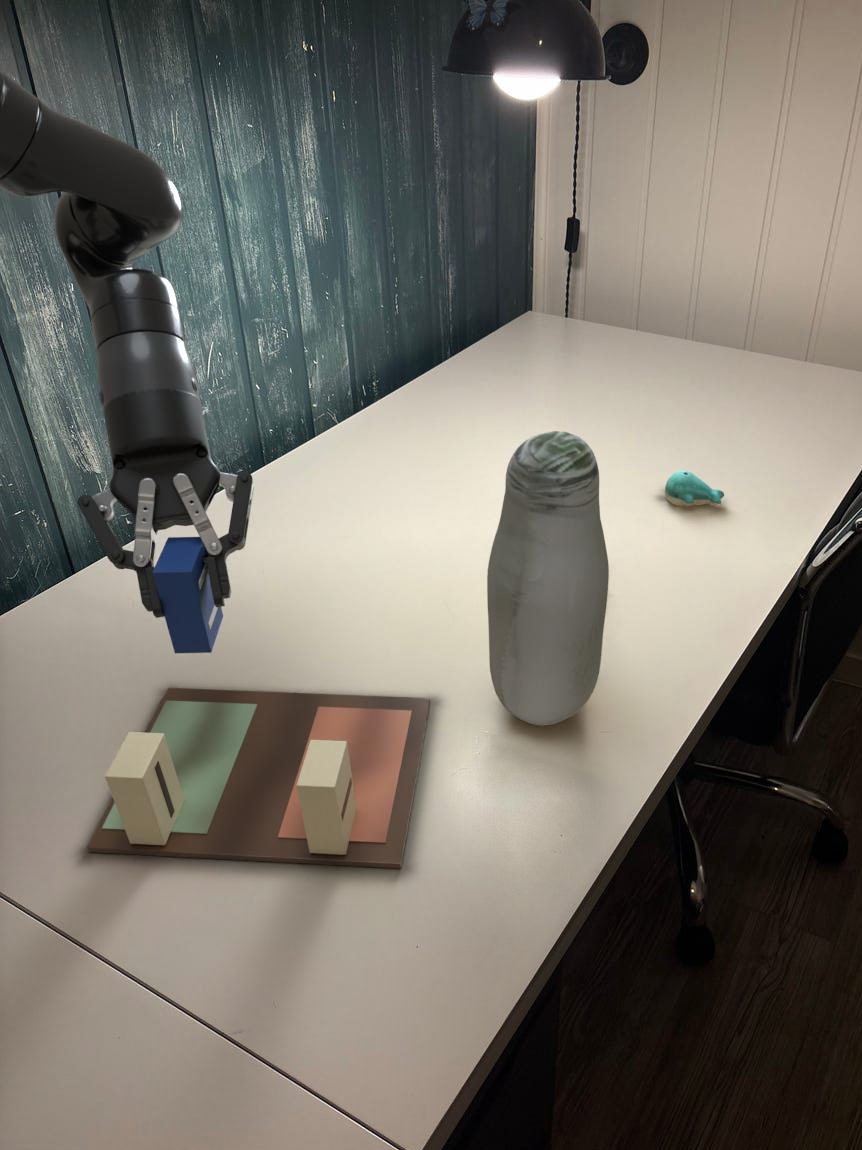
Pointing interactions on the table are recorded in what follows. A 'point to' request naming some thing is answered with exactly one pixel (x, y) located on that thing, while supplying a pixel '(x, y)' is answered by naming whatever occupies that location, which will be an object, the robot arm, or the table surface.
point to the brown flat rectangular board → (279, 774)
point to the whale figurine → (690, 490)
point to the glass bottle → (548, 581)
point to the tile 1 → (145, 788)
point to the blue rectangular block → (187, 595)
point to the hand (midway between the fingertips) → (189, 609)
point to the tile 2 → (327, 796)
